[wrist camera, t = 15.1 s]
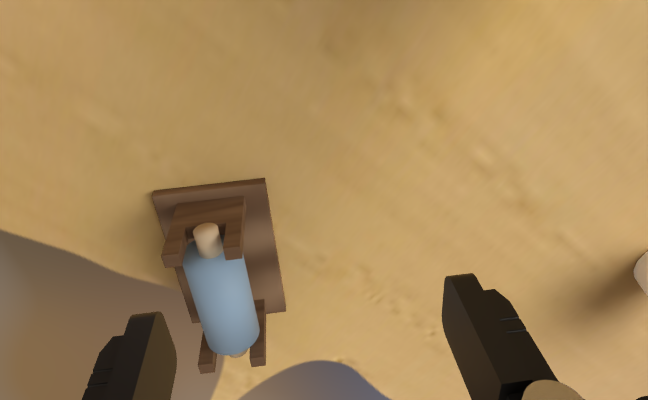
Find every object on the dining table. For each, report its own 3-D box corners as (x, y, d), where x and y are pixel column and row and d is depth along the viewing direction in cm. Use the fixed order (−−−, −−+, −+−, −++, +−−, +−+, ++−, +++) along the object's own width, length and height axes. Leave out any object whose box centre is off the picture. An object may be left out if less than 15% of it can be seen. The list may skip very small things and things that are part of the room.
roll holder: (154, 190, 42) (130, 248, 35) (264, 178, 43) (263, 232, 36) (193, 316, 51) (181, 383, 44) (285, 304, 51) (288, 369, 44)
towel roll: (174, 219, 40) (173, 255, 36) (233, 207, 41) (239, 240, 36) (210, 336, 47) (213, 377, 43) (259, 324, 48) (266, 362, 44)
